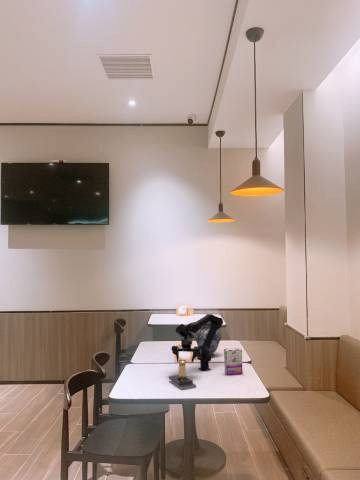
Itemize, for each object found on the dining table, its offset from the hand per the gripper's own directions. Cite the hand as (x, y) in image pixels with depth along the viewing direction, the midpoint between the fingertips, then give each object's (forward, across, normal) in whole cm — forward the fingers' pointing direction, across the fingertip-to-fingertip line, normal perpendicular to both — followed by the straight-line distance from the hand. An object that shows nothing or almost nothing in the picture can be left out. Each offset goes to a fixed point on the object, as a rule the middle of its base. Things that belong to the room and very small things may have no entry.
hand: (184, 362), depth 227 cm
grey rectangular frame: (+13, 0, +3) cm, 14 cm away
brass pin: (+13, 0, +3) cm, 14 cm away
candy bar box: (-4, +29, +21) cm, 36 cm away
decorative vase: (-35, +7, +52) cm, 63 cm away
